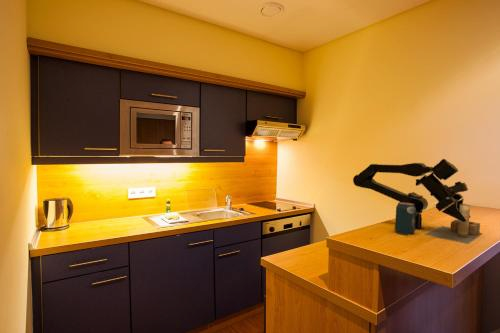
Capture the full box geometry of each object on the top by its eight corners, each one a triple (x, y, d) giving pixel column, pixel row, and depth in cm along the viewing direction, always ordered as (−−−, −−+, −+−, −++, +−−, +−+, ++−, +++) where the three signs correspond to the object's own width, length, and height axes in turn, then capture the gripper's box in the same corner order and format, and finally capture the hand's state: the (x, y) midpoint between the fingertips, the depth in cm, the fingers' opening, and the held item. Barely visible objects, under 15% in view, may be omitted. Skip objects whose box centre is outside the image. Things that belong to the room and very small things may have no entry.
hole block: (474, 236, 111) (475, 226, 111) (450, 231, 117) (451, 221, 117) (479, 232, 117) (480, 223, 116) (456, 228, 123) (456, 219, 122)
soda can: (417, 236, 110) (419, 205, 110) (397, 234, 112) (399, 204, 111) (410, 231, 117) (412, 202, 117) (392, 230, 119) (394, 201, 118)
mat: (468, 244, 101) (468, 243, 101) (424, 235, 112) (424, 234, 112) (482, 234, 116) (482, 233, 116) (442, 226, 126) (442, 225, 126)
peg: (462, 238, 108) (465, 205, 108) (455, 235, 111) (457, 203, 111) (469, 238, 109) (472, 205, 108) (462, 235, 112) (464, 203, 111)
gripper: (448, 175, 105) (484, 210, 98) (458, 173, 118) (491, 204, 111) (422, 194, 111) (454, 228, 104) (435, 190, 124) (464, 220, 117)
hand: (467, 219), depth 109 cm, fingers open, 9 cm apart
